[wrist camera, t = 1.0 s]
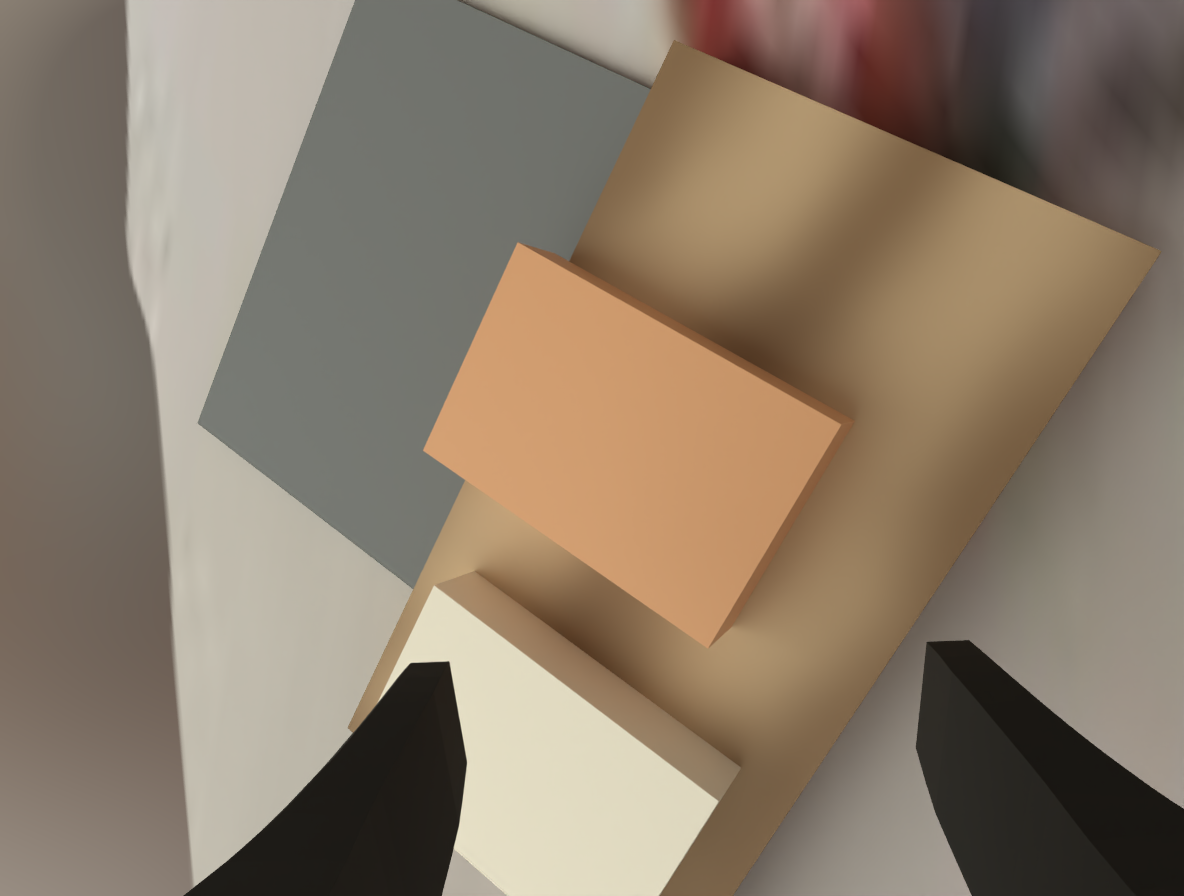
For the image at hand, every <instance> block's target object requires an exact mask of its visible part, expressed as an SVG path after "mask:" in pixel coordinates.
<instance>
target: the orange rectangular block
mask: <svg viewBox="0 0 1184 896" xmlns="http://www.w3.org/2000/svg"><path fill="white" fill-rule="evenodd" d="M854 422H855V421H854V420H852V419H850V418H849V417H847V416H845V415H843V414H842V413H840V412H838V411H836V410H834V409H833V408H831V407H829V406H827V405H825V404H824V403H822V402H820V401H818V400H816V399H815V398H813V397H811V396H809V395H807V394H806V393H804V392H802V391H800V390H799V389H797V388H795V387H793V386H791V385H790V384H788V383H786V382H784V381H782V380H781V379H779V378H777V377H775V376H773V375H772V374H770V373H768V372H766V371H765V370H763V369H761V368H759V367H757V366H756V365H754V364H752V363H750V362H748V361H747V360H745V359H743V358H741V357H739V356H738V355H736V354H734V353H732V352H731V351H729V350H727V349H725V348H723V347H722V346H720V345H718V344H716V343H714V342H713V341H711V340H709V339H707V338H705V337H704V336H702V335H700V334H698V333H696V332H695V331H693V330H691V329H689V328H688V327H686V326H684V325H682V324H680V323H679V322H677V321H675V320H673V319H671V318H670V317H668V316H666V315H664V314H662V313H661V312H659V311H657V310H655V309H654V308H652V307H650V306H648V305H646V304H645V303H643V302H641V301H639V300H637V299H636V298H634V297H632V296H630V295H628V294H627V293H625V292H623V291H621V290H619V289H618V288H616V287H614V286H612V285H611V284H609V283H607V282H605V281H603V280H602V279H600V278H598V277H596V276H594V275H593V274H591V273H589V272H587V271H585V270H584V269H582V268H580V267H578V266H577V265H575V264H573V263H571V262H569V261H568V260H566V259H564V258H562V257H560V256H559V255H557V254H555V253H552V252H549V251H546V250H542V249H539V248H535V247H532V246H529V245H525V244H522V243H519V242H518V243H517V245H516V247H515V249H514V251H513V254H512V256H511V258H510V260H509V262H508V265H507V267H506V269H505V271H504V273H503V276H502V278H501V280H500V282H499V284H498V286H497V289H496V291H495V293H494V295H493V297H492V300H491V302H490V304H489V306H488V308H487V311H486V313H485V315H484V317H483V319H482V322H481V324H480V326H479V328H478V330H477V333H476V335H475V337H474V339H473V341H472V344H471V346H470V348H469V350H468V352H467V355H466V357H465V359H464V361H463V363H462V366H461V368H460V370H459V372H458V374H457V377H456V379H455V381H454V383H453V385H452V388H451V390H450V392H449V394H448V396H447V399H446V401H445V403H444V405H443V407H442V410H441V412H440V414H439V416H438V418H437V421H436V423H435V425H434V427H433V429H432V432H431V434H430V436H429V438H428V440H427V443H426V445H425V447H424V449H423V451H424V452H426V453H427V454H429V455H430V456H432V457H433V458H434V459H436V460H437V461H439V462H440V463H442V464H443V465H444V466H446V467H447V468H449V469H450V470H452V471H453V472H455V473H456V474H457V475H459V476H460V477H462V478H463V479H465V480H466V481H467V482H469V483H470V484H472V485H473V486H475V487H476V488H478V489H479V490H480V491H482V492H483V493H485V494H486V495H488V496H489V497H491V498H492V499H493V500H495V501H496V502H498V503H499V504H501V505H502V506H503V507H505V508H506V509H508V510H509V511H511V512H512V513H514V514H515V515H516V516H518V517H519V518H521V519H522V520H524V521H525V522H526V523H528V524H529V525H531V526H532V527H534V528H535V529H537V530H538V531H539V532H541V533H542V534H544V535H545V536H547V537H548V538H549V539H551V540H552V541H554V542H555V543H557V544H558V545H560V546H561V547H562V548H564V549H565V550H567V551H568V552H570V553H571V554H572V555H574V556H575V557H577V558H578V559H580V560H581V561H583V562H584V563H585V564H587V565H588V566H590V567H591V568H593V569H594V570H596V571H597V572H598V573H600V574H601V575H603V576H604V577H606V578H607V579H608V580H610V581H611V582H613V583H614V584H616V585H617V586H619V587H620V588H621V589H623V590H624V591H626V592H627V593H629V594H630V595H631V596H633V597H634V598H636V599H637V600H639V601H640V602H642V603H643V604H644V605H646V606H647V607H649V608H650V609H652V610H653V611H654V612H656V613H657V614H659V615H660V616H662V617H663V618H665V619H666V620H667V621H669V622H670V623H672V624H673V625H675V626H676V627H678V628H679V629H680V630H682V631H683V632H685V633H686V634H688V635H689V636H690V637H692V638H693V639H695V640H696V641H698V642H699V643H701V644H702V645H703V646H705V647H706V648H709V647H710V646H711V645H713V644H714V643H715V642H716V641H717V640H718V639H719V638H720V637H721V636H722V635H723V634H724V633H726V632H727V631H728V630H729V629H730V628H731V627H732V625H733V624H734V622H735V620H736V619H737V617H738V615H739V614H740V612H741V610H742V609H743V607H744V605H745V604H746V602H747V600H748V599H749V597H750V595H751V594H752V592H753V590H754V589H755V587H756V585H757V584H758V582H759V580H760V579H761V577H762V575H763V574H764V572H765V570H766V569H767V567H768V565H769V564H770V562H771V560H772V559H773V557H774V555H775V554H776V552H777V550H778V549H779V547H780V545H781V544H782V542H783V540H784V539H785V537H786V535H787V533H788V532H789V530H790V528H791V527H792V525H793V523H794V522H795V520H796V518H797V517H798V515H799V513H800V512H801V510H802V508H803V507H804V505H805V503H806V502H807V500H808V498H809V497H810V495H811V493H812V492H813V490H814V488H815V487H816V485H817V483H818V482H819V480H820V478H821V477H822V475H823V473H824V472H825V470H826V468H827V467H828V465H829V463H830V462H831V460H832V458H833V457H834V455H835V453H836V452H837V450H838V448H839V447H840V445H841V443H842V442H843V440H844V438H845V437H846V435H847V433H848V432H849V430H850V428H851V427H852V425H853V423H854Z"/></svg>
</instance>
